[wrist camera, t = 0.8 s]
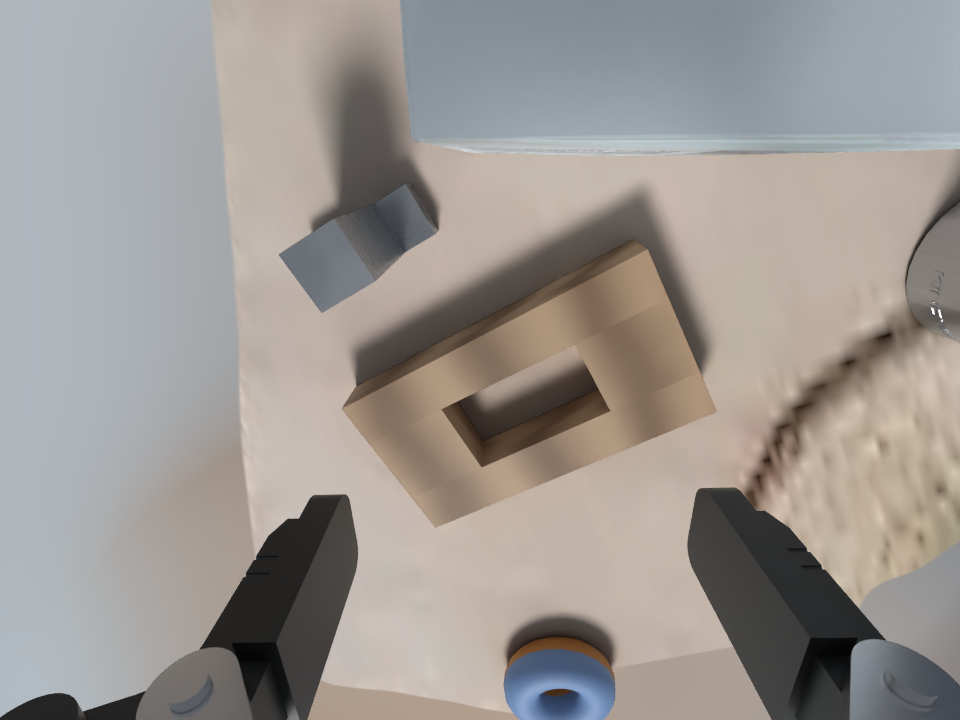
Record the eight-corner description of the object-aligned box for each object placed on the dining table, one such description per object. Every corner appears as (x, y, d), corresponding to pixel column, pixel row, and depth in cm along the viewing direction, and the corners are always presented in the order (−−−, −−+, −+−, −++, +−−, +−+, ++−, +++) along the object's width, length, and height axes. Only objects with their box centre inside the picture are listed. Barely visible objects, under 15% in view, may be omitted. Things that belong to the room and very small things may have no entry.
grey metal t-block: (410, 182, 25) (372, 192, 18) (438, 229, 26) (413, 258, 19) (314, 244, 27) (243, 277, 20) (344, 287, 28) (288, 333, 21)
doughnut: (492, 636, 41) (495, 694, 37) (603, 620, 40) (618, 677, 36) (512, 691, 45) (516, 747, 41) (611, 677, 45) (625, 733, 41)
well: (632, 239, 26) (647, 249, 23) (697, 388, 30) (716, 411, 27) (356, 386, 31) (341, 408, 28) (440, 498, 35) (435, 527, 32)
